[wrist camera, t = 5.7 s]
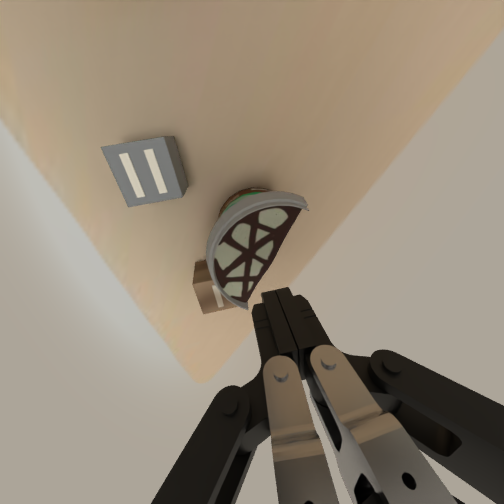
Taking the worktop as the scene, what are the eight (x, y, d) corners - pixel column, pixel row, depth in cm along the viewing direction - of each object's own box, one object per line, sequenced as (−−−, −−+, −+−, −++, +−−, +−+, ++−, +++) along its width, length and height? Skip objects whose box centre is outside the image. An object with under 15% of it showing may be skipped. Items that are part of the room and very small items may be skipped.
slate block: (124, 144, 21) (99, 147, 16) (173, 136, 21) (163, 136, 17) (144, 193, 23) (127, 207, 19) (188, 186, 24) (182, 197, 19)
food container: (231, 155, 23) (242, 168, 14) (278, 180, 25) (312, 203, 16) (194, 247, 27) (185, 299, 19) (236, 262, 30) (245, 314, 21)
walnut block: (195, 261, 29) (192, 285, 24) (231, 254, 29) (234, 276, 24) (204, 289, 31) (203, 315, 27) (237, 282, 31) (241, 306, 27)
